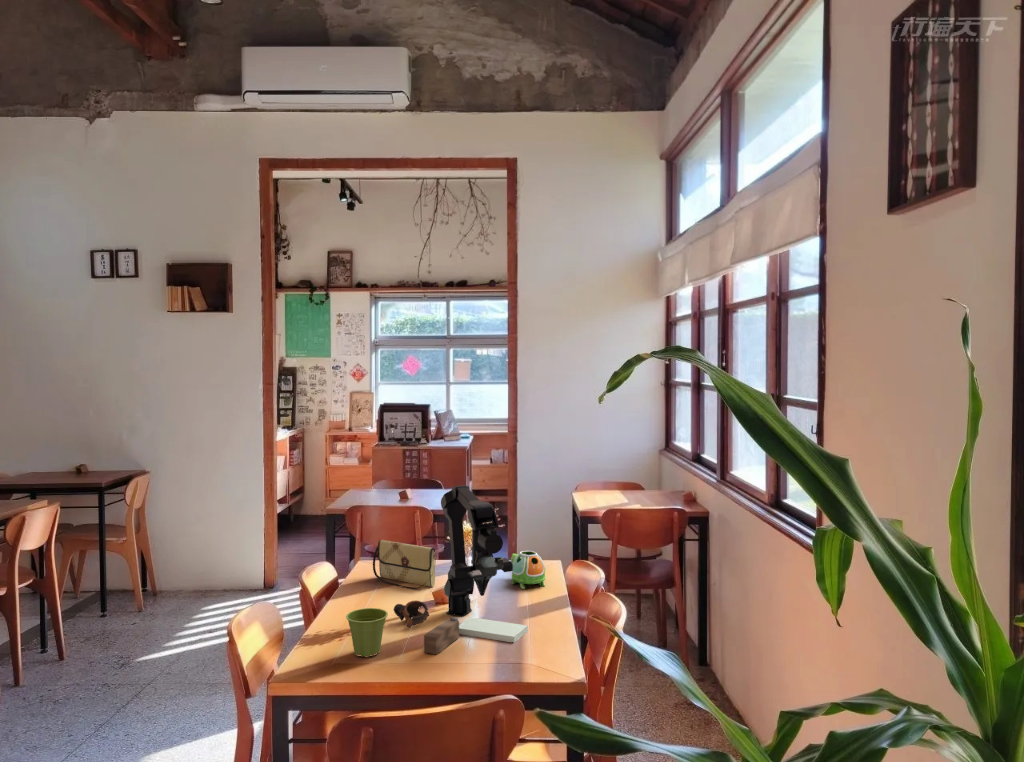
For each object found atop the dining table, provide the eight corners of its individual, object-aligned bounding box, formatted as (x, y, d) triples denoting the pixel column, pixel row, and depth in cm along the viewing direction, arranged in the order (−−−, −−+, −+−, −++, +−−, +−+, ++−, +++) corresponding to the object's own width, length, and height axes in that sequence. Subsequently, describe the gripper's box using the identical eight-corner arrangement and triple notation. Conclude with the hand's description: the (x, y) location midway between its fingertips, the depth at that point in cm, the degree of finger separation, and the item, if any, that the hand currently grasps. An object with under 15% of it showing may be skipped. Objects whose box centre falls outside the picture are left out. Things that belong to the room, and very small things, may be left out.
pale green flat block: (455, 633, 226) (455, 627, 225) (470, 622, 235) (470, 617, 235) (514, 642, 217) (514, 636, 217) (527, 631, 226) (527, 625, 226)
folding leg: (450, 633, 225) (449, 616, 225) (461, 635, 223) (461, 618, 223) (424, 652, 210) (423, 634, 210) (436, 654, 209) (436, 636, 209)
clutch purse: (368, 580, 283) (367, 542, 282) (381, 576, 289) (380, 538, 288) (428, 592, 267) (427, 551, 266) (440, 587, 272) (439, 547, 272)
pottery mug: (431, 619, 240) (433, 601, 236) (421, 641, 232) (423, 623, 228) (397, 608, 242) (398, 591, 237) (386, 630, 234) (387, 612, 229)
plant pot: (368, 664, 203) (368, 624, 203) (338, 656, 209) (337, 617, 209) (397, 650, 213) (396, 611, 213) (366, 642, 219) (366, 605, 219)
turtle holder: (527, 574, 287) (527, 544, 287) (552, 586, 271) (551, 554, 271) (499, 579, 281) (499, 548, 281) (523, 592, 265) (522, 559, 265)
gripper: (460, 555, 212) (460, 608, 213) (519, 548, 219) (520, 599, 220) (449, 545, 223) (449, 596, 223) (506, 539, 230) (506, 588, 230)
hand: (481, 595), depth 224 cm, fingers closed
